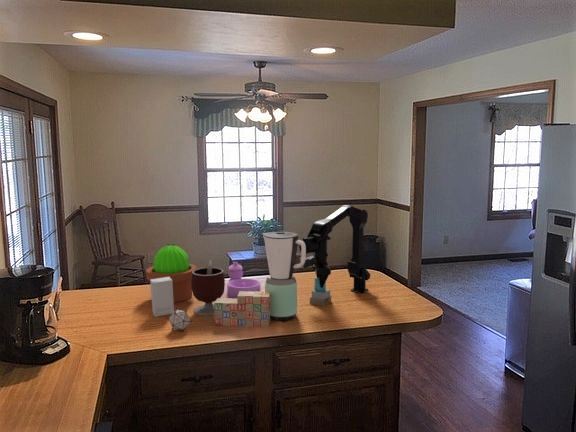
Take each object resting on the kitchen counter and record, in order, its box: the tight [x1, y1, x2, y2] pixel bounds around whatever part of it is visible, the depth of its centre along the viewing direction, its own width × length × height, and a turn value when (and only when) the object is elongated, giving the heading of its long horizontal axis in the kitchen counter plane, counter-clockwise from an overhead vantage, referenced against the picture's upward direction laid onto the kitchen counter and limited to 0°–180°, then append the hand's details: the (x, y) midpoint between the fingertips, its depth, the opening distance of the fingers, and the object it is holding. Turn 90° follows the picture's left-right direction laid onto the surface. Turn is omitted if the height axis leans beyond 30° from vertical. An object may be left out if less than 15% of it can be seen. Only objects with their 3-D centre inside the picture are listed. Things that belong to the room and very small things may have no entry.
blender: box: [261, 231, 307, 322], centre depth 198 cm, size 19×13×35 cm
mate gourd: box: [191, 259, 226, 316], centre depth 208 cm, size 16×14×20 cm
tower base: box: [309, 295, 332, 307], centre depth 219 cm, size 7×7×3 cm
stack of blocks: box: [213, 291, 271, 328], centre depth 193 cm, size 21×6×12 cm, turn 86°
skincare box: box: [150, 277, 175, 317], centre depth 204 cm, size 8×6×15 cm
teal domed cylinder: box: [313, 277, 327, 292], centre depth 218 cm, size 5×5×5 cm
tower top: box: [311, 288, 331, 300], centre depth 218 cm, size 6×6×3 cm
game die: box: [166, 307, 193, 333], centre depth 186 cm, size 9×8×10 cm
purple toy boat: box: [226, 261, 262, 299], centre depth 231 cm, size 25×15×13 cm, turn 22°
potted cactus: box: [145, 244, 198, 303], centre depth 225 cm, size 22×22×25 cm
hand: (320, 285), depth 217 cm, fingers open, 7 cm apart
